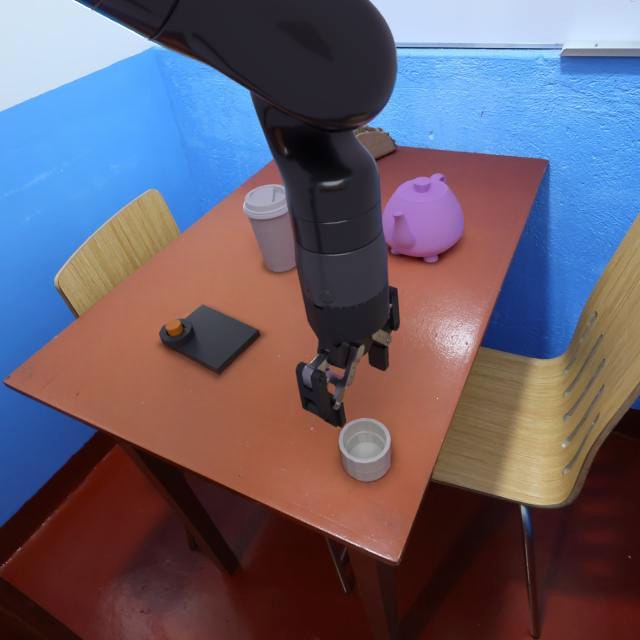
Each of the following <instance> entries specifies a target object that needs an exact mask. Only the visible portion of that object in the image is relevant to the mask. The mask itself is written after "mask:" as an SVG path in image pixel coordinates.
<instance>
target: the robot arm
mask: <svg viewBox="0 0 640 640" xmlns="http://www.w3.org/2000/svg"><path fill="white" fill-rule="evenodd" d="M72 1H73V2H75V3H77V4H78V5H81V6H83V7H84V8H86V9H88V10H91V11H92V12H94V13H95V14H98V15H100V16H101V17H103V18H105V19H107V20H108V21H111V22H113V23H115V24H116V25H118V26H120V27H122V28H124V29H126V30H128V31H130V32H132V33H133V34H135V35H137V36H139V37H141V38H143V39H146V40H147V41H149V42H151V43H153V44H155V45H156V46H158V47H161V48H163V49H165V50H168V51H170V52H173V53H175V54H177V55H179V56H182V57H185V58H187V59H190V60H193V61H195V62H197V63H200V64H202V65H205V66H207V67H210V68H211V69H213V70H214V71H216V72H218V73H220V74H222V75H223V76H225V77H227V78H228V79H230V80H231V81H233V82H234V83H236V84H238V85H239V86H241V87H243V88H244V89H246V90H247V91H248V92H249V95H250V100H251V103H252V105H253V108H254V110H255V115H256V117H257V119H258V122H259V126H260V127H261V131H262V133H263V135H264V139H265V141H266V144H267V146H268V149H269V152H270V154H271V156H272V159H273V161H274V163H275V165H276V168H277V170H278V174H279V176H280V178H281V181H282V184H283V186H284V189H285V197H286V203H287V208H288V213H289V218H290V222H291V227H292V232H293V238H294V249H295V262H296V266H295V267H296V271H297V277H298V282H299V287H300V291H301V296H302V300H303V305H304V308H305V309H304V310H305V314H306V315H305V316H306V320H307V323H308V325H309V327H310V328H311V330H312V331H313V333H314V335H315V336H316V338H317V348H316V356H315V357H314V358H313V360H311V361H310V362H309V363H306V362H304V361H300V362H298V363H297V365H296V366H295V377H296V382H297V387H298V393H299V399H300V403H301V408H302V410H305V411H306V412H309V413H311V414H313V415H315V416H316V417H318V418H320V419H321V420H323V421H324V422H325V423H326V424H329V425H331V426H333V427H334V428H338V427H339V428H341V429H343V428H344V427H345V425H346V424H347V418H346V417H347V416H346V411H345V405H344V404H345V403H344V401H343V399H344V396H345V392H346V390H347V388H349V387H351V386H352V385H353V382H354V379H355V375H356V371H357V368H358V365H359V363H360V362H361V360H362V359H363V357H364V356H366V354H367V357H368V364H369V365H370V367H372V368H375V369H377V370H379V371H381V372H386V371H387V370H388V369H389V367H390V360H389V359H390V358H389V357H390V353H389V351H390V350H389V346H390V344H391V343H392V340H393V336H392V335H391V334H392V332H397V331H398V330H399V328H400V325H401V317H400V303H399V290H398V288H397V287H395V286H393V285H390V282H389V281H390V280H389V279H390V277H389V260H388V256H389V255H388V247H387V243H386V240H385V236H384V231H383V223H382V215H383V206H382V205H383V204H382V186H381V185H382V184H381V177H380V170H379V167H378V164H377V161H376V159H374V158H373V156H372V155H371V154H370V152H369V151H368V150H367V149H366V148H365V147H364V146H363V145H362V144H361V143H360V141H359V140H358V139H357V137H356V136H355V133H354V131H353V130H356V129H358V128H360V127H362V126H365V125H368V124H370V122H372V121H374V119H376V118H377V117H378V116H380V114H381V113H382V112H383V110H384V109H385V107H386V106H387V105H388V103H389V101H390V99H391V98H392V95H393V94H394V90H395V87H396V84H397V80H398V79H397V78H398V70H399V59H398V58H399V57H398V50H397V45H396V41H395V37H394V35H393V32H392V29H391V28H390V26H389V24H388V22H387V20H386V18H385V17H384V16H383V14H382V13H381V11H380V10H379V9H378V8H377V6H376V5H375V4H374V3H373V2H372V1H371V0H72ZM330 366H333V367H335V368H339V369H341V370H344V373H343V375H341V374H339V373H337V372H335V371H333V370H331V368H330ZM329 384H331V385H333V386H334V387H335V388H334V391H333V393H332V392H330V391H329Z"/></svg>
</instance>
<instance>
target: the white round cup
mask: <svg viewBox="0 0 640 640" xmlns="http://www.w3.org/2000/svg"><path fill="white" fill-rule="evenodd" d="M390 434H391V433H390V431H389V429H388V428H387V427H386V426H385V425H384V423H383V422H381V421H379V420H377V419H375V418H369V417H360V418H356V419H353V420H351V421H349V422H348V423H345V425H344V426H343V427H342V428H341V430H340V431H339V436H338V446H339V451H340V456H341V461H342V467H343V469H344V471H345V472H346V473H347V474H348V475H349V476H350V477H352V478H353V479H355V480H357V481H360V482H363V483H364V482H365V483H367V482H369V483H370V482H376V481H377V480H380V479H381V478H382V477H384V476H385V475H386V474H387V473H388V471H389V469H390V468H391V466H392V461H393V453H392V437H391V435H390Z"/></svg>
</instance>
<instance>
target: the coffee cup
mask: <svg viewBox="0 0 640 640" xmlns="http://www.w3.org/2000/svg"><path fill="white" fill-rule="evenodd" d="M242 209H243V210H242V212H243V214H244V215H245V217H247V218H248V220H249V223H250V226H251V229H252V231H253V233H254V237H255V239H256V242H257V244H258V247H259V250H260V252H261V255H262V258H263V260H264V264H265V265H266V268H267V270H269V271H271V272H273V273H284V272H288V271H290V270H293V269H294V268H295V267H296V262H295V249H294V238H293V232H292V227H291V222H290V218H289V213H288V208H287V203H286V197H285V189H284V185H282V184H276V183H275V184H273V183H271V184H264V185H260V186H257V187H255V188H253V189H251V190H250V191H249V192H247V193H246V195H245V197H244V202H243V206H242Z"/></svg>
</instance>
